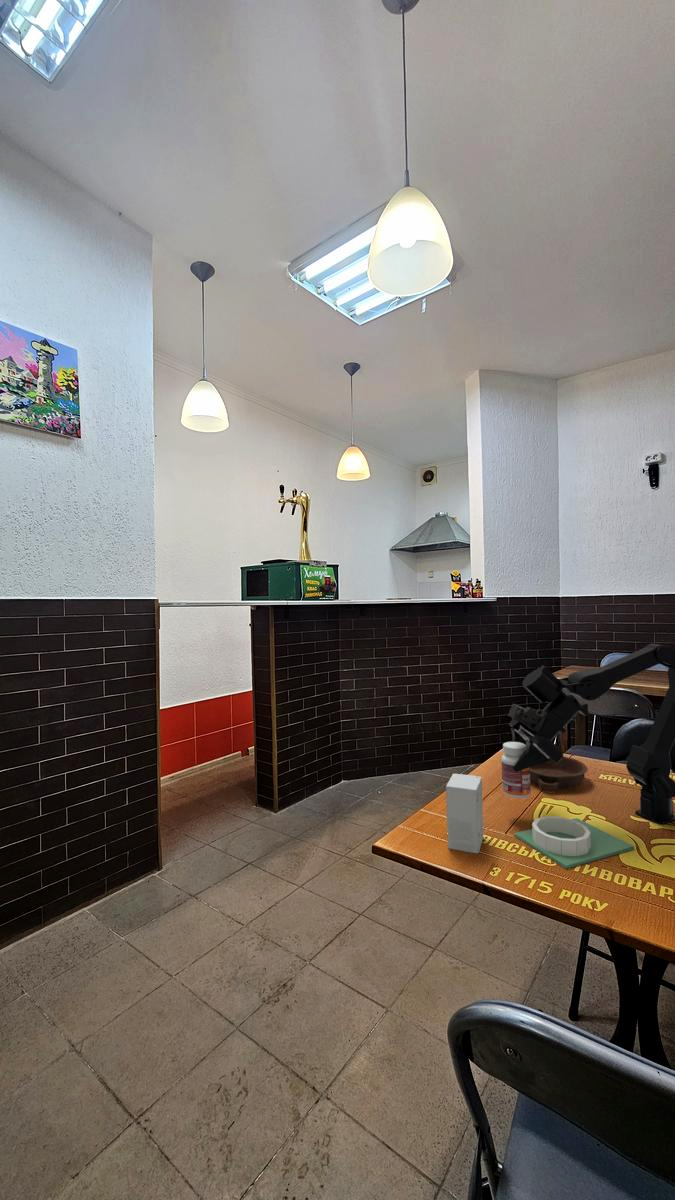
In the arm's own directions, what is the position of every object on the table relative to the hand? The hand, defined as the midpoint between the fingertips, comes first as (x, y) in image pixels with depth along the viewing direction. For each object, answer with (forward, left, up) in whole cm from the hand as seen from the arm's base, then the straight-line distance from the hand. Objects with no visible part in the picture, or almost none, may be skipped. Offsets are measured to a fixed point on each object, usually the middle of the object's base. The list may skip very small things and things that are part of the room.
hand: (509, 765), depth 112 cm
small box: (+16, +5, -13) cm, 21 cm away
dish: (-27, -14, -13) cm, 34 cm away
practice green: (-4, +14, -13) cm, 19 cm away
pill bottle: (-1, +1, -7) cm, 7 cm away
